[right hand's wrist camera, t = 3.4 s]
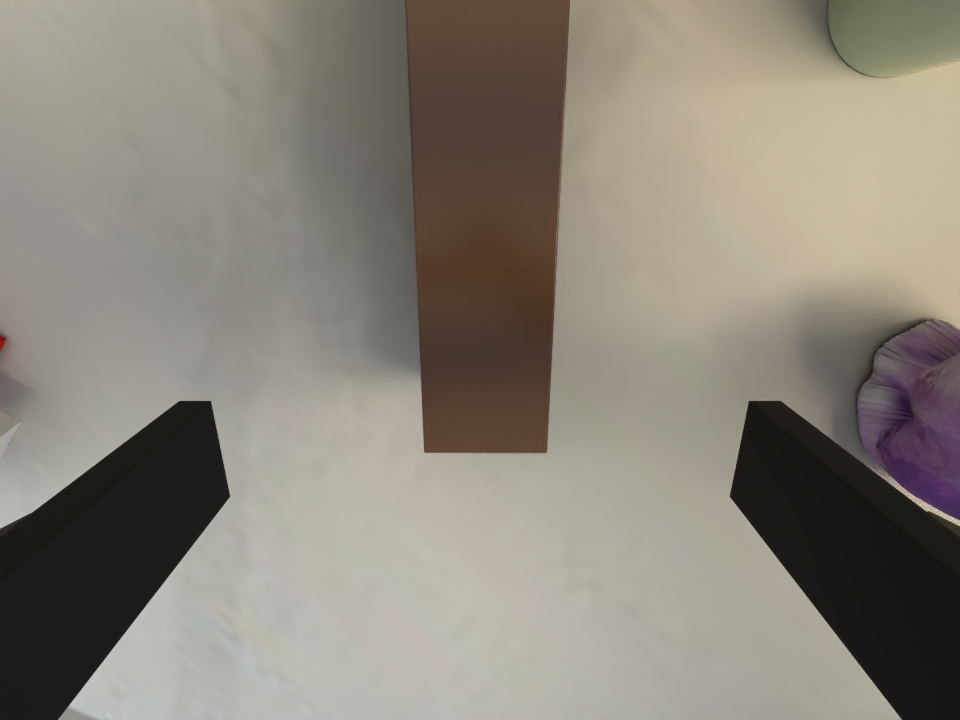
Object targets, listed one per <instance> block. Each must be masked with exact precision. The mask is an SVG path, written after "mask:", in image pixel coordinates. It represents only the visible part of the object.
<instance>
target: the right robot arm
mask: <svg viewBox="0 0 960 720" xmlns="http://www.w3.org/2000/svg"><path fill="white" fill-rule="evenodd" d="M229 497H230V494H229V489H228V484H227V479H226V474H225V469H224V464H223V459H222V454H221V449H220V444H219V439H218V434H217V429H216V424H215V419H214V414H213V409H212V404H211V401H179V402H178V403H176V404H175V405H174V406H172V407H171V408H170V409H168V410H167V411H166V412H164V413H163V414H162V415H160V416H159V417H158V418H156V419H155V420H154V421H152V422H151V423H150V424H149V425H147V426H146V427H145V428H143V429H142V430H141V431H139V432H138V433H137V434H135V435H134V436H133V437H131V438H130V439H129V440H127V441H126V442H125V443H123V444H122V445H121V446H120V447H118V448H117V449H116V450H114V451H113V452H112V453H110V454H109V455H108V456H106V457H105V458H104V459H102V460H101V461H100V462H98V463H97V464H96V465H94V466H93V467H92V468H91V469H89V470H88V471H87V472H85V473H84V474H83V475H81V476H80V477H79V478H77V479H76V480H75V481H73V482H72V483H71V484H69V485H68V486H67V487H65V488H64V489H63V490H62V491H60V492H59V493H58V494H56V495H55V496H54V497H52V498H51V499H50V500H48V501H47V502H46V503H44V504H43V505H42V506H40V507H39V508H38V509H37V510H35V511H34V512H33V513H30V514H28V515H26V516H24V517H22V518H21V519H19V520H17V521H15V522H13V523H11V524H9V525H7V526H5V527H3V528H1V529H0V720H58V719H59V718H60V716H61V715H62V714H63V712H64V711H65V710H66V708H67V707H68V706H69V705H70V703H71V702H72V701H73V699H74V698H75V697H76V696H77V694H78V693H79V692H80V690H81V689H82V688H83V686H84V685H85V684H86V683H87V681H88V680H89V679H90V677H91V676H92V675H93V674H94V672H95V671H96V670H97V668H98V667H99V666H100V664H101V663H102V662H103V661H104V659H105V658H106V657H107V655H108V654H109V653H110V652H111V650H112V649H113V648H114V646H115V645H116V644H117V642H118V641H119V640H120V639H121V637H122V636H123V635H124V633H125V632H126V631H127V630H128V628H129V627H130V626H131V624H132V623H133V622H134V620H135V619H136V618H137V617H138V615H139V614H140V613H141V611H142V610H143V609H144V607H145V606H146V605H147V604H148V602H149V601H150V600H151V598H152V597H153V596H154V595H155V593H156V592H157V591H158V589H159V588H160V587H161V585H162V584H163V583H164V582H165V580H166V579H167V578H168V576H169V575H170V574H171V573H172V571H173V570H174V569H175V567H176V566H177V565H178V563H179V562H180V561H181V560H182V558H183V557H184V556H185V554H186V553H187V552H188V550H189V549H190V548H191V547H192V545H193V544H194V543H195V541H196V540H197V539H198V538H199V536H200V535H201V534H202V532H203V531H204V530H205V528H206V527H207V526H208V525H209V523H210V522H211V521H212V519H213V518H214V517H215V516H216V514H217V513H218V512H219V510H220V509H221V508H222V506H223V505H224V504H225V503H226V501H227V500H228V499H229ZM730 497H731V499H732V500H733V501H734V503H735V504H736V505H737V506H738V508H739V509H740V510H741V512H742V513H743V514H744V516H745V517H746V518H747V519H748V521H749V522H750V523H751V525H752V526H753V527H754V528H755V530H756V531H757V532H758V534H759V535H760V536H761V538H762V539H763V540H764V541H765V543H766V544H767V545H768V547H769V548H770V549H771V550H772V552H773V553H774V554H775V556H776V557H777V558H778V560H779V561H780V562H781V563H782V565H783V566H784V567H785V569H786V570H787V571H788V573H789V574H790V575H791V576H792V578H793V579H794V580H795V582H796V583H797V584H798V585H799V587H800V588H801V589H802V591H803V592H804V593H805V595H806V596H807V597H808V598H809V600H810V601H811V602H812V604H813V605H814V606H815V607H816V609H817V610H818V611H819V613H820V614H821V615H822V617H823V618H824V619H825V620H826V622H827V623H828V624H829V626H830V627H831V628H832V630H833V631H834V632H835V633H836V635H837V636H838V637H839V639H840V640H841V641H842V642H843V644H844V645H845V646H846V648H847V649H848V650H849V652H850V653H851V654H852V655H853V657H854V658H855V659H856V661H857V662H858V663H859V664H860V666H861V667H862V668H863V670H864V671H865V672H866V674H867V675H868V676H869V677H870V679H871V680H872V681H873V683H874V684H875V685H876V686H877V688H878V689H879V690H880V692H881V693H882V694H883V696H884V697H885V698H886V699H887V701H888V702H889V703H890V705H891V706H892V707H893V709H894V710H895V711H896V712H897V714H898V715H899V716H900V718H901V719H902V720H960V526H958V525H956V524H954V523H952V522H950V521H948V520H946V519H944V518H942V517H940V516H938V515H936V514H934V513H932V512H926V511H925V510H923V509H922V508H921V507H920V506H918V505H917V504H916V503H914V502H913V501H912V500H910V499H909V498H908V497H906V496H905V495H904V494H902V493H901V492H900V491H898V490H897V489H896V488H895V487H893V486H892V485H891V484H889V483H888V482H887V481H885V480H884V479H883V478H881V477H880V476H879V475H877V474H876V473H875V472H873V471H872V470H871V469H869V468H868V467H867V466H866V465H864V464H863V463H862V462H860V461H859V460H858V459H856V458H855V457H854V456H852V455H851V454H850V453H848V452H847V451H846V450H844V449H843V448H842V447H840V446H839V445H838V444H837V443H835V442H834V441H833V440H831V439H830V438H829V437H827V436H826V435H825V434H823V433H822V432H821V431H819V430H818V429H817V428H815V427H814V426H813V425H811V424H810V423H809V422H808V421H806V420H805V419H804V418H802V417H801V416H800V415H798V414H797V413H796V412H794V411H793V410H792V409H790V408H789V407H788V406H786V405H785V404H784V403H782V402H781V401H749V404H748V409H747V414H746V419H745V424H744V429H743V434H742V439H741V444H740V449H739V454H738V459H737V464H736V469H735V474H734V479H733V484H732V489H731V494H730Z"/></svg>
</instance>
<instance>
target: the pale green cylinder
mask: <svg viewBox="0 0 960 720" xmlns="http://www.w3.org/2000/svg"><path fill="white" fill-rule="evenodd" d="M828 25H829V31H830V35H831V39H832V41H833V44H834V46H835V48H836V50H837V52H838V53H839V55H840V56H841V57H842V59H843V60H844V61H845V62H846V63H847V64H848V65H849V66H850V67H852V68H854V69H855V70H857V71H858V72H861V73H863V74H865V75H869V76H873V77H881V78H888V77H897V76H901V75H906V74H910V73H914V72H918V71H922V70H926V69H930V68H934V67H938V66H943V65H947V64H951V63H955V62H959V61H960V0H829V2H828Z"/></svg>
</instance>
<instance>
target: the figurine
mask: <svg viewBox="0 0 960 720" xmlns="http://www.w3.org/2000/svg"><path fill="white" fill-rule="evenodd" d="M857 410H858V415H857V416H858V426H859V431H860V437H861V439H862V444H863V447H864V449H865V450H866V451H867V452H868V453H869V455H870V456H871V457H872V458H873V459H874V461H875V462H877V463H878V464H879V465H880V466H881V467H882V468H883V469H884V470H885V471H886V472H887V473H888V474H889V475H891V476H892V477H893V478H894V479H895V480H896V481H897V482H898V483H899V484H900V485H901V486H902V487H903V488H905V489H906V490H907V491H908V492H910V493H911V494H913V495H914V496H916V497H918V498H919V499H921V500H923V501H924V502H926V503H928V504H929V505H931V506H933V507H935V508H937V509H939V510H940V511H942V512H944V513H946V514H948V515H950V516H952V517H954V518H956V519H958V520H960V330H959V329H958V328H956V327H955V326H953V325H952V324H950V323H948V322H944V321H940V320H936V319H935V320H932V321H926V322H925V323H921V324H920V325H916V327H915V328H911V329H910V330H906V331H905V333H901V334H900V335H897V336H895V337H894V338H891V339H890V340H889V342H886V343H884V345H883V346H882V347H881V348H879V349H878V351H877V353H876V355H875V357H874V364H873V372H872V375H871V377H870V378H869V379H868V381H866V382H865V383H864V384H863V385H862V387H861V390H860V392H859V394H858V402H857Z"/></svg>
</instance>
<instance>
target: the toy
mask: <svg viewBox="0 0 960 720" xmlns="http://www.w3.org/2000/svg"><path fill="white" fill-rule="evenodd" d="M5 340H6V339H5V338H3V337H1V336H0V350H1V348H2V346H3V344H4V342H5ZM20 423H21V421H20V420H18V419H16V418H14V417H12V416H10V415H8V414H6V413H3V412H1V411H0V458H1V457H2V455H3V453H4V451H5V450H6V448H7V446H8V444H9V443H10V441H11V439H12V437H13V435H14V434H15V432H16V430H17V428H18V427H19V425H20Z"/></svg>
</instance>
